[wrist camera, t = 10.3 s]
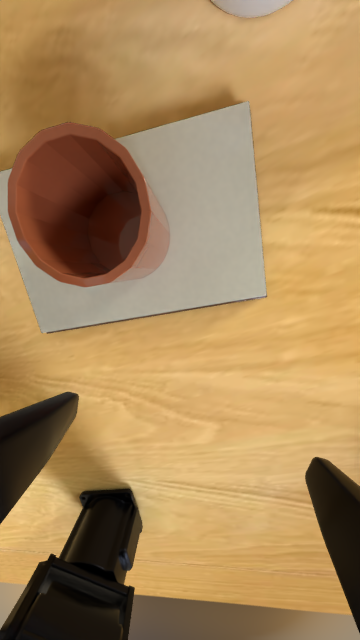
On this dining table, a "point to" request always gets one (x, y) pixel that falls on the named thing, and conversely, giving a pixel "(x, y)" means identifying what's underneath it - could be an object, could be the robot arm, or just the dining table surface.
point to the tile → (173, 228)
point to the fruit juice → (250, 7)
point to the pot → (85, 208)
